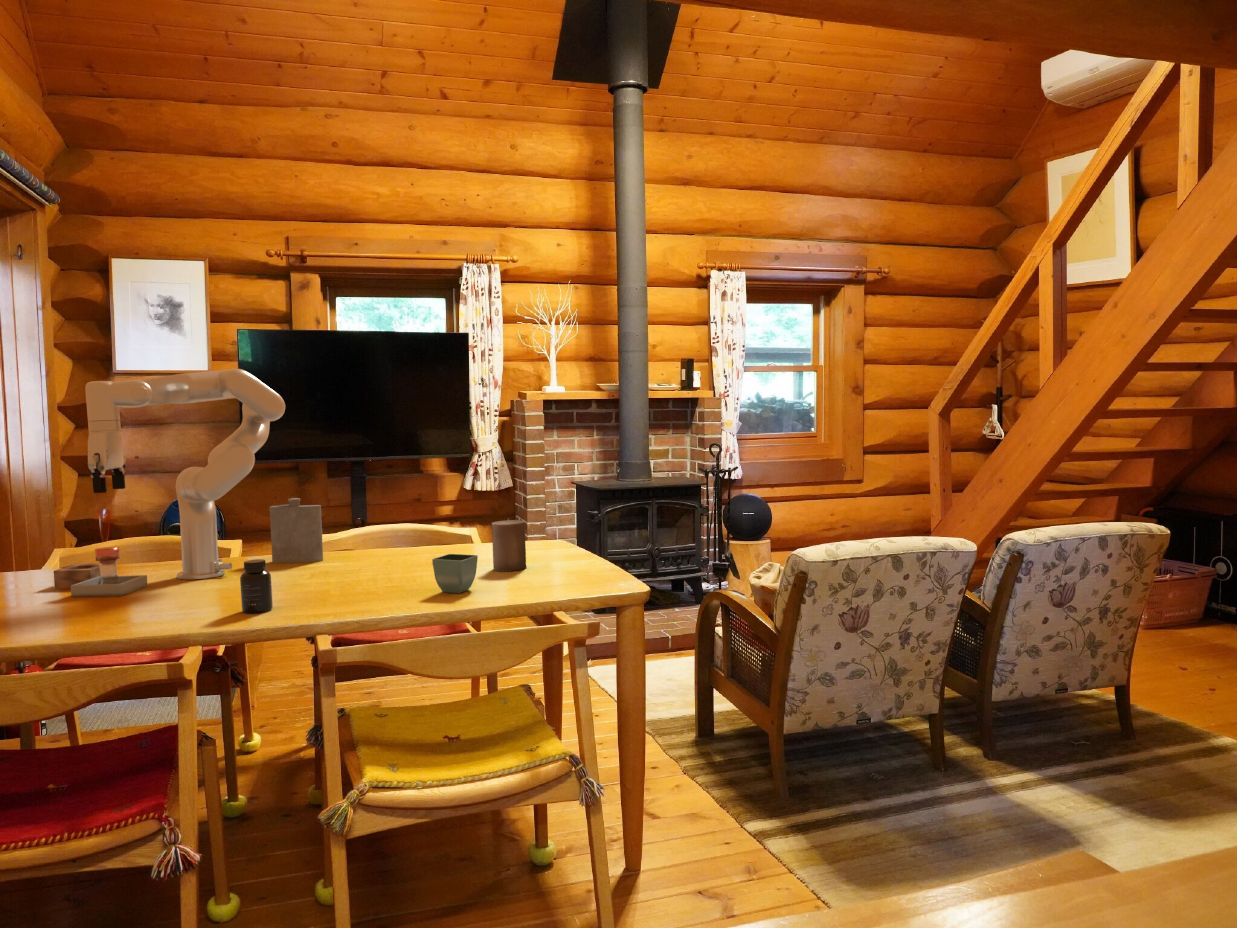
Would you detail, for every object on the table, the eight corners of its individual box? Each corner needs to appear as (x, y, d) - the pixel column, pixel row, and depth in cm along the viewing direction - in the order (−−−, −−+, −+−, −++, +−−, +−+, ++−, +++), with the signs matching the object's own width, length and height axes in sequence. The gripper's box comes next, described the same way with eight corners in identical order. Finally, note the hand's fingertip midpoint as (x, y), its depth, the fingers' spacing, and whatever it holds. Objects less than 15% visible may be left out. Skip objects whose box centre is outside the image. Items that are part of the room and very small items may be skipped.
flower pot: (479, 588, 233) (478, 554, 233) (463, 595, 225) (461, 560, 224) (449, 587, 236) (448, 553, 236) (432, 594, 228) (431, 559, 227)
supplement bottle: (247, 608, 216) (244, 558, 215) (276, 607, 216) (274, 557, 215) (237, 614, 209) (235, 563, 208) (267, 613, 209) (265, 562, 209)
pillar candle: (533, 567, 263) (531, 516, 262) (512, 572, 255) (510, 520, 254) (507, 565, 268) (505, 515, 267) (485, 570, 260) (484, 518, 259)
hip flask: (324, 559, 283) (322, 497, 282) (320, 562, 279) (317, 498, 278) (274, 560, 283) (271, 497, 282) (269, 563, 279) (266, 499, 278)
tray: (147, 585, 246) (146, 575, 246) (121, 596, 233) (120, 584, 233) (100, 586, 246) (99, 576, 246) (71, 597, 233) (70, 585, 233)
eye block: (112, 580, 254) (110, 563, 254) (91, 588, 244) (90, 570, 244) (76, 581, 254) (75, 564, 254) (54, 588, 244) (53, 570, 244)
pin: (104, 587, 242) (102, 547, 241) (125, 586, 242) (123, 546, 241) (93, 591, 236) (90, 550, 236) (114, 590, 236) (111, 549, 236)
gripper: (107, 426, 249) (112, 488, 250) (72, 429, 231) (77, 495, 233) (134, 425, 249) (139, 486, 250) (101, 428, 232) (107, 493, 233)
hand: (109, 490), depth 241 cm, fingers open, 9 cm apart
